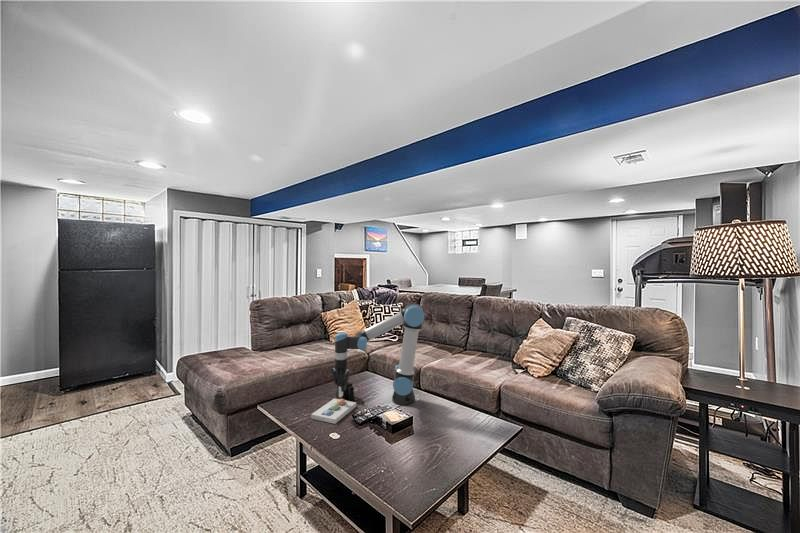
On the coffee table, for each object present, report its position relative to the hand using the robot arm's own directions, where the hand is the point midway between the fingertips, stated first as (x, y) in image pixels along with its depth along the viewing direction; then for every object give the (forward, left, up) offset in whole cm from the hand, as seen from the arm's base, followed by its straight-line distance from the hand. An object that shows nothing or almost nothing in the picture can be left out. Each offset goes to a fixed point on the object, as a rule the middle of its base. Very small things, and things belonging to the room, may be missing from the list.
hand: (340, 396), depth 206 cm
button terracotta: (0, 0, -6) cm, 6 cm away
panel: (0, +7, -7) cm, 10 cm away
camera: (+5, -13, -8) cm, 16 cm away
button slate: (0, +14, -7) cm, 15 cm away
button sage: (0, +7, -6) cm, 9 cm away
